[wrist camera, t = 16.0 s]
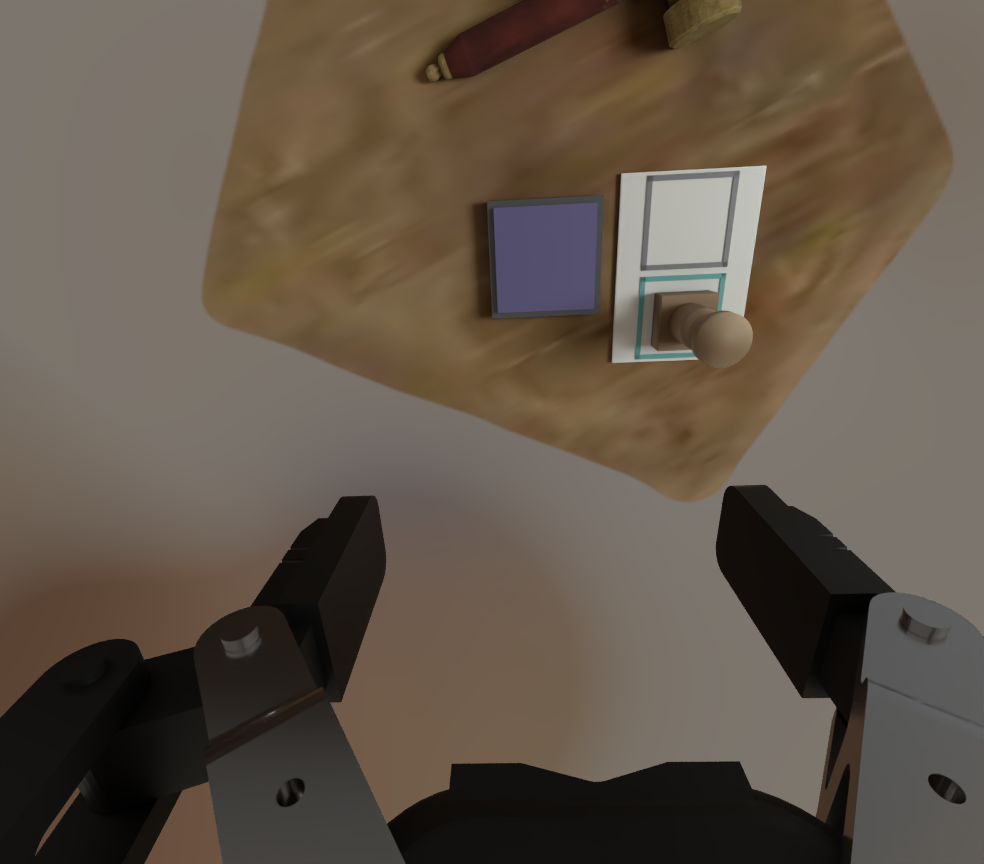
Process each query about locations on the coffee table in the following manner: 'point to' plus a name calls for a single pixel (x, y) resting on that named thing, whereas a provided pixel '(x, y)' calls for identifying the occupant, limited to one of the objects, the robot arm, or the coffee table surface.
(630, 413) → the coffee table surface
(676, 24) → the gavel
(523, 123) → the coffee table surface
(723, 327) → the stamp
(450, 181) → the coffee table surface
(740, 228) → the sheet
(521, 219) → the ink pad
